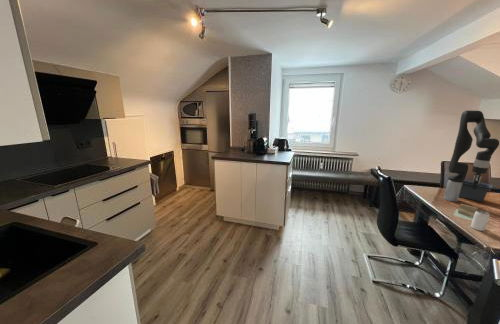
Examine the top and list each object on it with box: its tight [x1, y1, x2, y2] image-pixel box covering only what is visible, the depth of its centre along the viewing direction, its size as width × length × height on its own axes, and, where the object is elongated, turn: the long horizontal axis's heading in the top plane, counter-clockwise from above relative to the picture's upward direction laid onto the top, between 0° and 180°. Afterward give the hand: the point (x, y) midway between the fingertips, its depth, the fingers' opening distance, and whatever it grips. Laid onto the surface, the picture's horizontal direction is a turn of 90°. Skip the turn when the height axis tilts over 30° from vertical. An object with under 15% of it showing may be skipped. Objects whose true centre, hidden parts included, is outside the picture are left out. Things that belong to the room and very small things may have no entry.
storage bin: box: [459, 179, 493, 203], centre depth 182 cm, size 21×16×14 cm
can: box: [470, 209, 490, 232], centre depth 134 cm, size 6×6×12 cm
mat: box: [452, 208, 473, 222], centre depth 152 cm, size 16×12×1 cm
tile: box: [458, 203, 479, 217], centre depth 152 cm, size 2×9×7 cm, turn 39°
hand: (474, 188), depth 152 cm, fingers closed
